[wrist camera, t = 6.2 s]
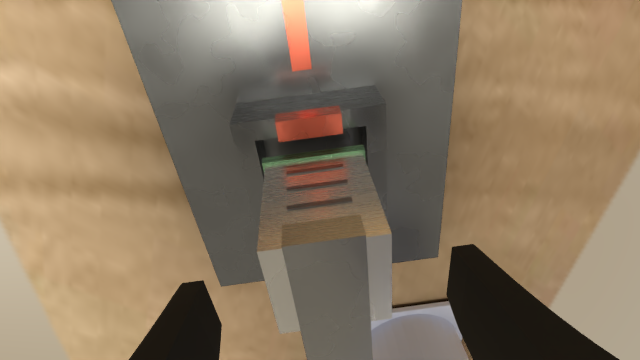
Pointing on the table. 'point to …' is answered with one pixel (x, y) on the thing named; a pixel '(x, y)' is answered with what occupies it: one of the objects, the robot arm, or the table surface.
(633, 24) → the table surface
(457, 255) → the robot arm
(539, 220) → the table surface
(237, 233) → the stand
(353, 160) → the grey block
